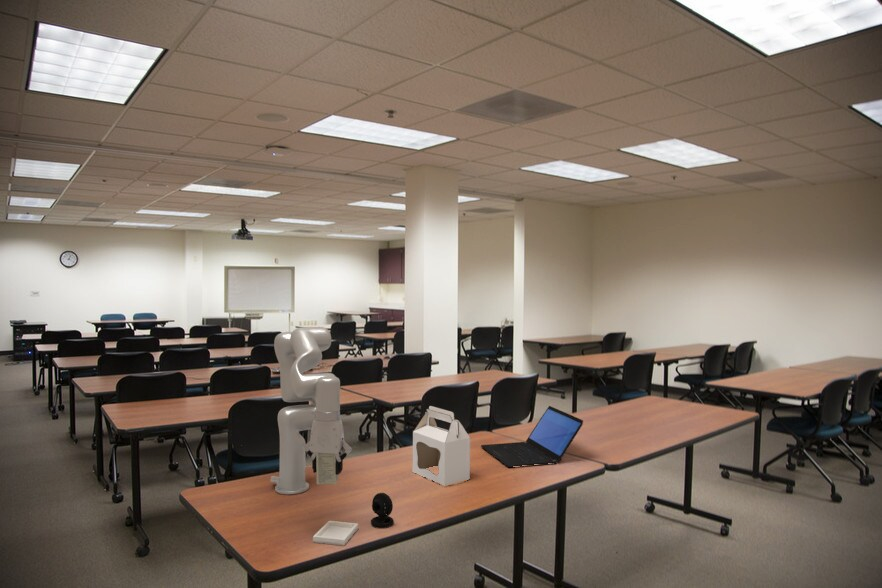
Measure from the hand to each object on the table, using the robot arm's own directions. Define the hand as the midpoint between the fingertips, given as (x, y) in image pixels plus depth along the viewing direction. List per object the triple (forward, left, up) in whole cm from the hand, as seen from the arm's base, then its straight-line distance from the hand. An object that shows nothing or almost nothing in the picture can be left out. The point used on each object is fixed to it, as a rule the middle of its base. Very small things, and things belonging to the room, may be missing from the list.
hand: (327, 472), depth 176 cm
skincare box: (0, 0, -3) cm, 3 cm away
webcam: (+15, +9, -19) cm, 26 cm away
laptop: (+59, +100, -19) cm, 118 cm away
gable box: (+24, +59, -19) cm, 67 cm away
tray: (+4, -3, -19) cm, 19 cm away
